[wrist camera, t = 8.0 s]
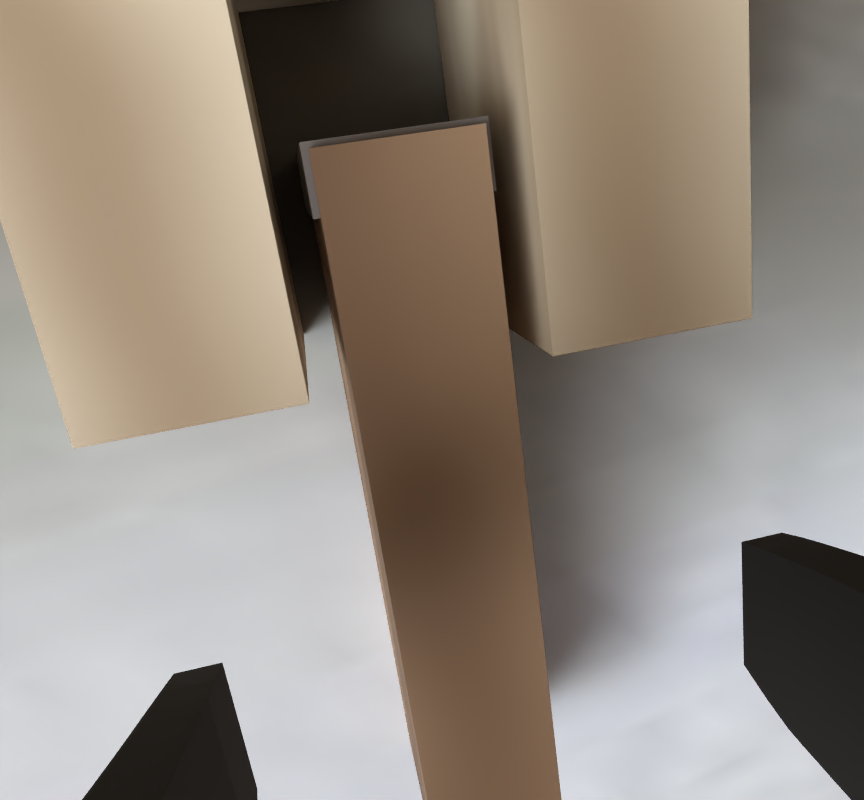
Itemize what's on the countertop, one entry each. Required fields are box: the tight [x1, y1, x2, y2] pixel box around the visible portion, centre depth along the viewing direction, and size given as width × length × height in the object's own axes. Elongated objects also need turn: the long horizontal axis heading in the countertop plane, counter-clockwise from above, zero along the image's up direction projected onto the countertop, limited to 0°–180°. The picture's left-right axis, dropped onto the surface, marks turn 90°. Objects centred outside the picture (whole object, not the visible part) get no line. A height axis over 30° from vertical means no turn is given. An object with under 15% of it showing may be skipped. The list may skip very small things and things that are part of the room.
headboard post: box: [0, 0, 752, 449], centre depth 11 cm, size 20×8×7 cm, turn 98°
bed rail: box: [296, 116, 561, 800], centre depth 14 cm, size 3×14×5 cm, turn 8°
